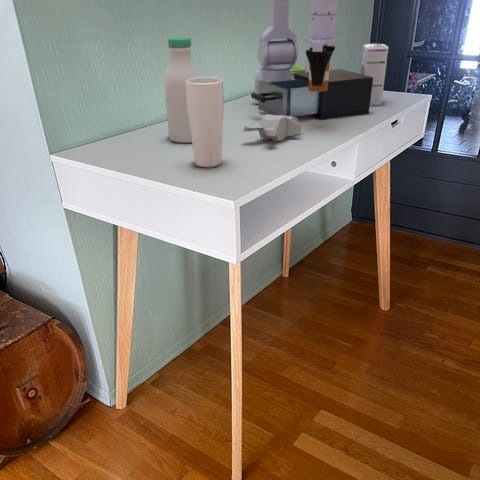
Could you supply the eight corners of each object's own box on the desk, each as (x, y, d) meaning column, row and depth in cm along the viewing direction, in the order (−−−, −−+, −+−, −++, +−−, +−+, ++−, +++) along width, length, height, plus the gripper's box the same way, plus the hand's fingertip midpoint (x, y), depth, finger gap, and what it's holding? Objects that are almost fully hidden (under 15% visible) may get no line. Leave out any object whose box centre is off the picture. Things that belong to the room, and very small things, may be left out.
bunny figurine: (311, 115, 112) (276, 121, 102) (308, 139, 115) (274, 147, 104) (275, 110, 117) (238, 115, 106) (273, 133, 120) (237, 140, 109)
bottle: (304, 89, 117) (306, 48, 112) (319, 87, 118) (322, 46, 114) (316, 92, 113) (319, 50, 109) (331, 90, 115) (335, 48, 110)
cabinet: (320, 119, 126) (323, 82, 121) (292, 107, 137) (294, 73, 132) (368, 113, 131) (373, 77, 126) (337, 102, 142) (340, 69, 137)
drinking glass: (225, 158, 101) (223, 76, 92) (225, 169, 95) (223, 83, 87) (191, 159, 101) (186, 77, 92) (189, 170, 95) (183, 84, 87)
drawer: (267, 121, 121) (268, 91, 117) (244, 110, 131) (244, 82, 127) (329, 114, 127) (331, 84, 123) (302, 103, 137) (304, 76, 133)
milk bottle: (198, 144, 109) (192, 39, 98) (164, 142, 111) (154, 39, 99) (207, 134, 115) (202, 35, 104) (175, 133, 117) (167, 35, 105)
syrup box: (381, 105, 138) (390, 45, 130) (360, 105, 138) (367, 46, 130) (377, 101, 143) (385, 43, 135) (356, 101, 143) (363, 43, 135)
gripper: (309, 11, 114) (305, 77, 122) (299, 16, 102) (296, 88, 110) (340, 12, 113) (334, 78, 120) (334, 16, 101) (328, 89, 109)
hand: (318, 83), depth 115 cm, fingers closed on bottle, 4 cm apart
